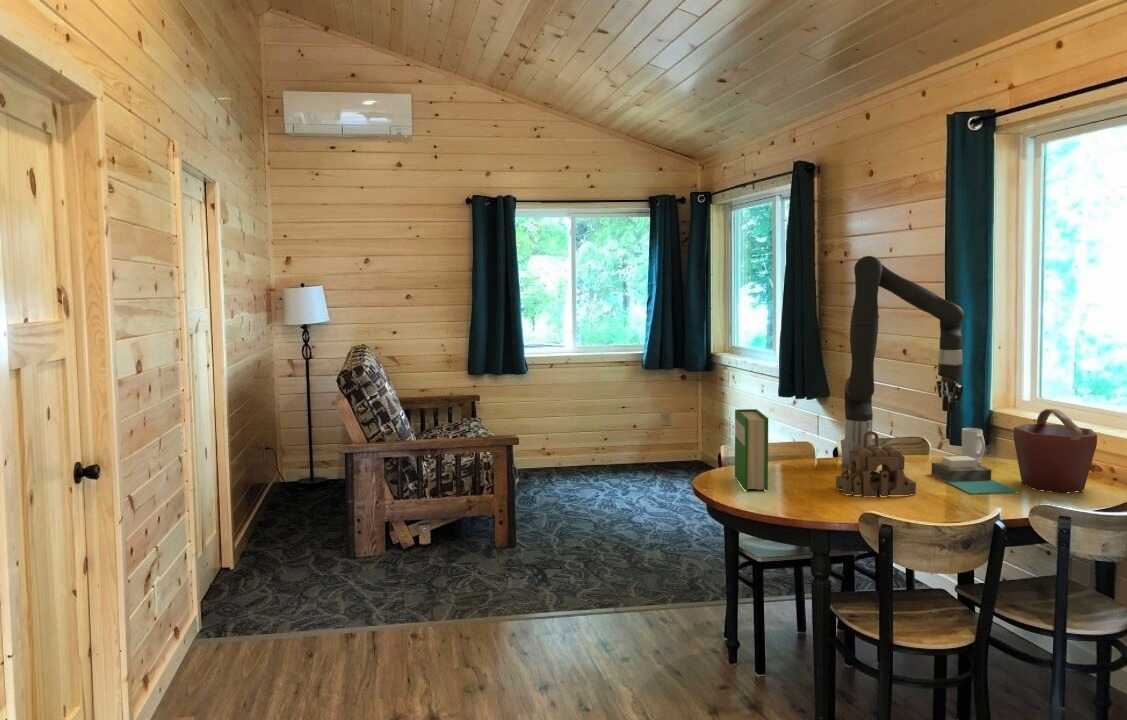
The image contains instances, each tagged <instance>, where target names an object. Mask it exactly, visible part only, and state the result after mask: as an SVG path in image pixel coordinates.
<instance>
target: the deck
mask: <svg viewBox="0 0 1127 720" xmlns="http://www.w3.org/2000/svg"><path fill="white" fill-rule="evenodd" d="M930 475H932V476H934V477H936V478H939V479H940V478H941V480H942V479H943V481H944V480H945V481H950V482H951V481H985V480H991V479H992V469H990V468H987V467H986V466H982V465H980V464H977V467H970V468H950V467H948V466H945V465H943V464H942V461H941V462H931V474H930ZM945 481H944V482H945Z"/></svg>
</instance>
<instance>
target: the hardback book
mask: <svg viewBox="0 0 1127 720" xmlns="http://www.w3.org/2000/svg"><path fill="white" fill-rule="evenodd" d="M735 477H736V478H737V480H738V481H739V482H740V484H741V485H742V487H743V488H744V489H745V490H748V489H757V490H763V489H765V490H769V488H768V487H769V417H767V416H766V415H765V414H764V413H762V412H761V411H760V410H759V409H758V408H755V409H750V408H749V409H747V408H746V409H745V408H744V409H740V408H739V409H734V478H735ZM748 491H749V490H748Z"/></svg>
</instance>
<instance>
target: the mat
mask: <svg viewBox="0 0 1127 720" xmlns="http://www.w3.org/2000/svg"><path fill="white" fill-rule="evenodd" d="M945 482H946V484H947V483H948V484H947V485H949V484H951V485H950V486H952V485H953V486H952V487H954V486H955V487H954V488H956V487H957V488H956V489H958V488H959V489H958V490H960V489H961V490H960V491H962V490H963V491H962V492H964V491H965V492H964V493H966V492H968V493H970V494H971V495H975V494H974V493H1004V494H1016V493H1015V492H1020V493H1021V491H1019V490H1017V489H1015V488H1013V487H1012V486H1008V485H1006V484H1004V483H1001V482H999V481H997V480H994V479H992V478H991V480H985V481H951V482H950V481H944V483H945ZM968 493H967V494H968ZM970 494H969V495H970Z"/></svg>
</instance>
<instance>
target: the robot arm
mask: <svg viewBox="0 0 1127 720" xmlns="http://www.w3.org/2000/svg"><path fill="white" fill-rule="evenodd" d="M853 271H854V277H855V278H854V281H855V283H854V284H855V293H854V294H855V295H854V301H853V306H852V312H851V317H850V327H849V348H850V356H851V368H850V375H849V377H848V378H847V379H846V380H845V384H844V416H845V417H844V419H845V423H844V438H843V439H842V460H841V461H842V462H841V463H842V465H843V466H844V467H846V468H847V469H850V463H849V451H852V449H853V447H854V446H857V445H860V446H862V447H863V436H864V434H865V433H866V432H869V431H873V405H872V396H873V395H874V393H875V379H874V378H875V373H874V372H875V371H874V370H875V369H874V365H875V364H874V363H875V357H876V351H877V342H878V334H879V333H878V332H879V304H878V303H879V302H878V294H879V287H880V288H882V289H884V290H886V291H888V292H890V293H892V294H894V296H897V297H898V298H899V299H901V300H902V301H904V302H906V303H908V304H909V305H911V306H913V307H914V308H916V309H919V310H921V311H922V312H925V313H927V314H930V315H931V316H932V317H935V318H936V319H938V320H939V331H940V335H939V351H938V359H937V360H938V362H937V365H938V366H937V376H939V377H941V378H940V380H937V381H936V388H937V389H936V390H937V394H938V397H939V398H941V403H942V404H941V405H942V407H941V410H942V411H943V412H948V413H949V414H955V413H956V403H957V402H960V401H961V397H962V394H963V390H964V386H963V385H960V384H959V378H960V377H962V376H963V359H964V357H963V335H962V322H963V320H964V318H965V312H964V310H963V308H962V307H961V306H959V305H957V304H955V303H954V302H951V301H949V300H947V299H945V298H943V297H941V296H940V295H938V294H936V293H935V292H933V291H931V290H929V289H928V288H926V287H924V286H922V285H920V284H917V283H915V282H914V281H911V280H908V279H906V278H904V277H902V276H900V275H898V274H897V273H895V272H893V271H892V270H890V269H888V267H886V266H885V265H883V264H882V263H881V261H880V260H879V258H877V257H875V256H873V255H872V256H871V255H866V256H862V257H861V258H859V259H858V260H857V261H856V263H855V265H854V268H853ZM871 445H873V434H870V435H868V436H867V448H868V446H871Z"/></svg>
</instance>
